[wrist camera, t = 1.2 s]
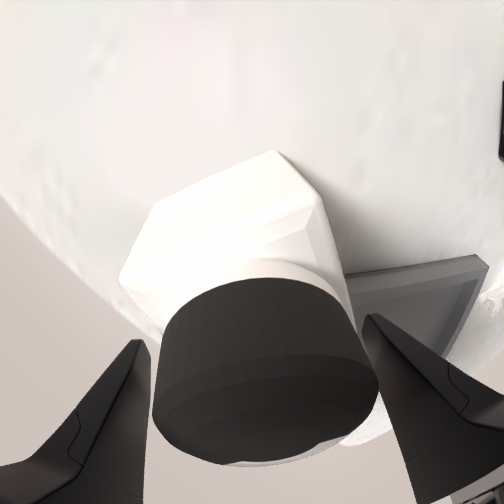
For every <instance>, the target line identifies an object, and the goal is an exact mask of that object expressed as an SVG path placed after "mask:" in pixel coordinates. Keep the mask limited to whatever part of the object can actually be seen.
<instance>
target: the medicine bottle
mask: <svg viewBox="0 0 504 504" xmlns="http://www.w3.org/2000/svg"><path fill="white" fill-rule="evenodd" d="M119 283H120V285H121V287H122V288H123V289H124V291H125V292H126V293H127V294H128V296H129V297H130V298H131V299H132V301H133V302H134V303H135V304H136V306H137V307H138V308H139V309H140V310H141V312H142V313H143V314H144V315H145V316H146V318H147V319H148V320H149V321H150V322H151V323H152V325H153V326H154V327H155V328H156V329H157V330H158V331H159V333H160V334H161V335H162V336H163V337H162V343H161V350H160V356H159V363H158V370H157V378H156V385H155V393H154V401H153V410H152V417H153V421H154V423H155V425H156V427H157V428H158V430H159V431H160V433H161V434H162V435H163V436H164V438H165V439H166V440H167V441H168V442H169V443H170V444H171V445H173V446H174V447H176V448H177V449H179V450H181V451H183V452H185V453H187V454H190V455H192V456H195V457H197V458H200V459H202V460H205V461H208V462H212V463H215V464H220V465H226V466H237V467H259V466H269V465H277V464H283V463H288V462H292V461H296V460H300V459H303V458H306V457H309V456H312V455H315V454H317V453H320V452H322V451H324V450H326V449H328V448H330V447H332V446H333V445H335V444H337V443H338V442H340V441H341V440H343V439H344V438H345V437H346V436H348V435H349V434H350V433H351V432H353V431H354V430H355V429H356V428H357V427H359V426H360V425H361V424H362V423H363V422H364V421H365V419H366V418H367V417H368V416H369V414H370V413H371V411H372V409H373V406H374V404H375V401H376V398H377V395H378V392H379V381H378V378H377V375H376V373H375V371H374V369H373V367H372V365H371V362H370V360H369V358H368V356H367V354H366V352H365V350H364V348H363V345H362V343H361V341H360V339H359V337H358V335H357V330H356V325H355V321H354V316H353V312H352V307H351V303H350V299H349V295H348V290H347V286H346V282H345V278H344V275H343V271H342V267H341V263H340V259H339V256H338V252H337V248H336V245H335V241H334V238H333V234H332V231H331V228H330V224H329V221H328V218H327V214H326V211H325V208H324V205H323V201H322V198H321V197H320V195H319V194H318V192H317V191H316V190H315V189H314V188H313V187H312V186H311V185H310V184H309V183H308V182H307V181H306V179H305V178H304V177H303V176H302V175H301V174H300V173H299V172H298V171H297V170H296V169H295V168H294V167H293V166H292V165H291V164H290V163H289V162H288V161H287V160H286V159H285V158H284V157H283V156H282V155H281V154H280V153H279V152H278V151H276V150H271V151H268V152H266V153H263V154H261V155H259V156H256V157H254V158H251V159H249V160H247V161H244V162H242V163H240V164H237V165H235V166H233V167H230V168H228V169H226V170H224V171H221V172H219V173H217V174H215V175H212V176H210V177H208V178H206V179H204V180H202V181H199V182H197V183H195V184H193V185H191V186H189V187H187V188H185V189H183V190H181V191H179V192H177V193H175V194H173V195H171V196H169V197H167V198H165V199H163V200H161V201H159V202H157V203H156V204H155V205H154V207H153V209H152V211H151V213H150V215H149V216H148V218H147V220H146V222H145V224H144V226H143V228H142V230H141V232H140V234H139V236H138V238H137V240H136V242H135V244H134V246H133V248H132V250H131V252H130V254H129V256H128V258H127V260H126V263H125V265H124V267H123V269H122V271H121V273H120V278H119Z"/></svg>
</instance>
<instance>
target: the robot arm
mask: <svg viewBox="0 0 504 504" xmlns="http://www.w3.org/2000/svg"><path fill="white" fill-rule="evenodd" d="M499 155H500V157H501V158H502V159H504V81H503V116H502V131H501V142H500V150H499ZM361 334H362V338H363V342H364V345H365V349H366V352H367V356H368V358H369V360H370V362H371V365H372V367H373V369H374V371H375V373H376V375H377V378H378V381H379V391H380V394H381V396H382V399H383V402H384V404H385V407H386V410H387V412H388V415H389V418H390V421H391V424H392V426H393V429H394V432H395V435H396V438H397V441H398V444H399V447H400V449H401V452H402V456H403V458H404V462H405V463H406V468H407V471H408V475H409V478H410V481H411V485H412V488H413V491H414V495H415V498H416V502H417V504H430V503H433V502H435V501H437V500H440V499H442V498H444V497H446V496H448V495H450V497H451V500H452V502H453V504H504V395H502V394H500V393H498V392H496V391H494V390H493V389H491V388H489V387H488V386H486V385H484V384H482V383H480V382H479V381H477V380H475V379H474V378H472V377H470V376H469V375H467V374H466V373H464V372H463V371H461V370H460V369H458V368H457V367H455V366H454V365H452V364H451V363H450V362H448V361H447V360H445V359H444V358H442V357H441V356H440V355H438V354H437V353H435V352H434V351H433V350H431V349H430V348H428V347H427V346H425V345H424V344H423V343H421V342H420V341H418V340H417V339H415V338H414V337H413V336H411V335H410V334H408V333H407V332H405V331H404V330H402V329H401V328H400V327H398V326H397V325H395V324H394V323H392V322H391V321H389V320H388V319H386V318H385V317H384V316H382V315H381V314H379V313H377V312H374V313H369V314H367V315H366V316H365V319H364V323H363V326H362V331H361ZM150 388H151V357H150V354H149V351H148V349H147V347H146V345H145V343H144V341H143V340H142V339H133V340H131V341H130V342H129V343H128V344H127V345H126V346H125V348H124V349H123V350H122V351H121V352H120V354H119V355H118V356H117V357H116V358H115V359H114V361H113V362H112V363H111V364H110V366H109V367H108V368H107V369H106V370H105V372H104V373H103V374H102V375H101V376H100V378H99V379H98V380H97V381H96V383H95V384H94V385H93V386H92V387H91V389H90V390H89V391H88V392H87V394H86V395H85V396H84V397H83V399H82V400H81V401H80V402H79V404H78V405H77V407H76V408H75V409H74V410H73V411H72V413H71V414H70V415H69V416H68V418H67V419H66V420H65V421H64V422H63V423H62V425H61V426H60V427H59V428H58V429H57V430H56V431H55V432H54V434H52V436H51V437H50V438H49V439H48V440H47V441H46V442H45V443H44V444H43V445H42V446H41V447H40V448H39V449H38V450H37V451H36V452H35V453H34V454H33V455H32V456H31V457H29V458H28V459H26V460H24V461H21V462H17V463H13V464H9V465H5V466H0V504H143V500H142V499H143V487H144V466H145V449H146V438H147V427H148V417H149V408H150V395H151V389H150Z"/></svg>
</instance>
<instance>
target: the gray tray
mask: <svg viewBox="0 0 504 504" xmlns="http://www.w3.org/2000/svg"><path fill="white" fill-rule="evenodd" d="M488 269H489V266H488V265H487V264H486V263H485V262H484V261H483V260H482V259H480V258H479V257H478V256H477V255H476V254H475V255H469V256H464V257H458V258H453V259H447V260H441V261H435V262H429V263H423V264H417V265H411V266H404V267H398V268H391V269H385V270H378V271H371V272H364V273H357V274H350V275H344V278H345V282H346V286H347V290H348V295H349V299H350V303H351V307H352V312H353V316H354V321H355V325H356V330H357V335H358V337H359V339H360V341H361V343H362V345H363V348H364V350H365V352H366V349H365V345H364V342H363V338H362V334H361V331H362V326H363V323H364V319H365V316H366V315H367V314H369V313H374V312H377V313H379V314H381V315H382V316H384V317H385V318H386V319H388V320H389V321H391V322H392V323H394V324H395V325H397V326H398V327H400V328H401V329H402V330H404V331H405V332H407V333H408V334H410V335H411V336H413V337H414V338H415V339H417V340H418V341H420V342H421V343H423V344H424V345H425V346H427V347H428V348H430V349H431V350H433V351H434V352H435V353H437V354H438V355H440V356H441V357H442V358H444V359H445V358H446V356H447V355H448V353H449V351H450V349H451V348H452V346H453V344H454V342H455V341H456V339H457V337H458V335H459V333H460V331H461V329H462V327H463V325H464V323H465V321H466V319H467V317H468V315H469V313H470V311H471V309H472V307H473V305H474V303H475V300H476V298H477V296H478V294H479V291H480V289H481V287H482V284H483V282H484V279H485V277H486V274H487V272H488ZM366 354H367V352H366Z"/></svg>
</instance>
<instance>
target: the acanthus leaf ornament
mask: <svg viewBox="0 0 504 504" xmlns="http://www.w3.org/2000/svg"><path fill="white" fill-rule="evenodd" d="M502 298H504V266H503V268H502V270H501V272H500V275H499V277H498V279H497V280H496V282H495V283H494V284H493V286H492V287H491V288H490V289H489V290H487V291H485V292H483V293H482V295H481V296H480V298H479V300H478V302H479V303H484V302H485V301H486V300H490V306H489V310H490V311H491V312H492V313H491V316H495V315H496V314H497V313H498V312H499V311H500V309H501V307H502Z"/></svg>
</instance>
